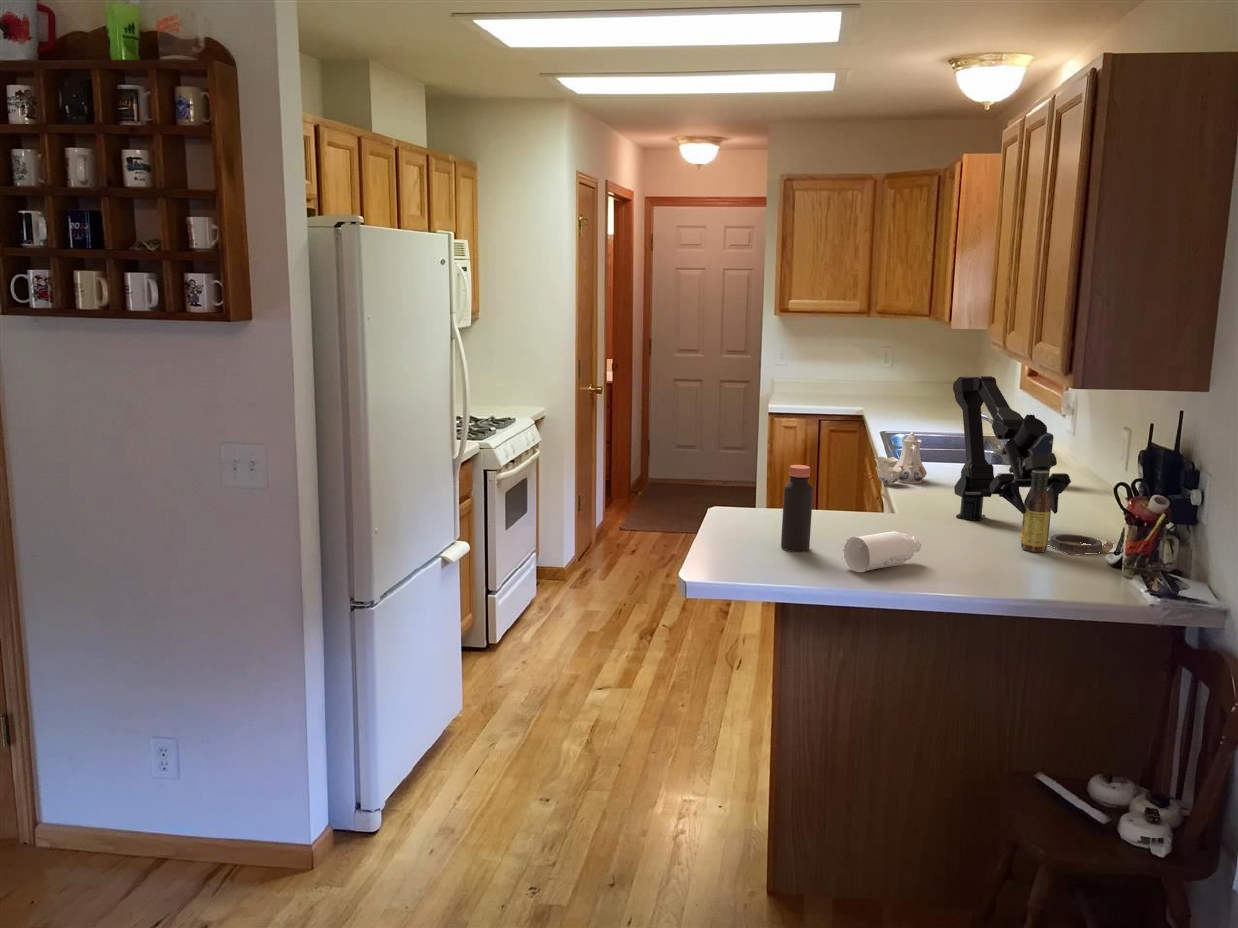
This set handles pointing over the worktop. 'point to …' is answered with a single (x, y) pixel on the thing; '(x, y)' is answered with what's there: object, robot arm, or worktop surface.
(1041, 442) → the candle
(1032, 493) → the sauce bottle
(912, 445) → the chinaware
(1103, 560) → the worktop surface
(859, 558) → the white bottle
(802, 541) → the vinegar
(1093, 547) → the cup bracket
